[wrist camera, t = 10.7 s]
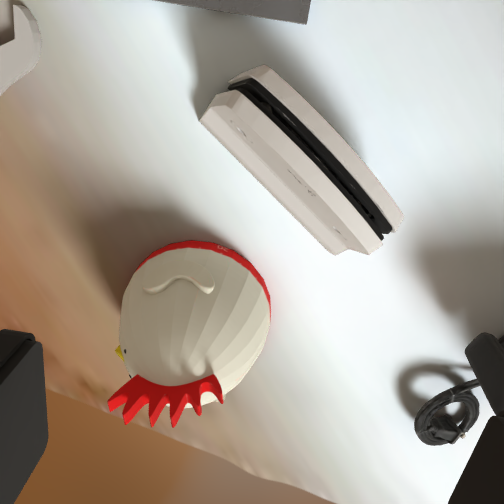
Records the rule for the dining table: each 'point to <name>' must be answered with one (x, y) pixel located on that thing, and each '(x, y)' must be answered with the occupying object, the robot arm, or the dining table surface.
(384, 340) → the dining table surface
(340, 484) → the dining table surface
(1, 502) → the robot arm
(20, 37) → the adjustable wrench
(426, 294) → the dining table surface
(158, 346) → the kitchen timer
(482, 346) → the milk frother
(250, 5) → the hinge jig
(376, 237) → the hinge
